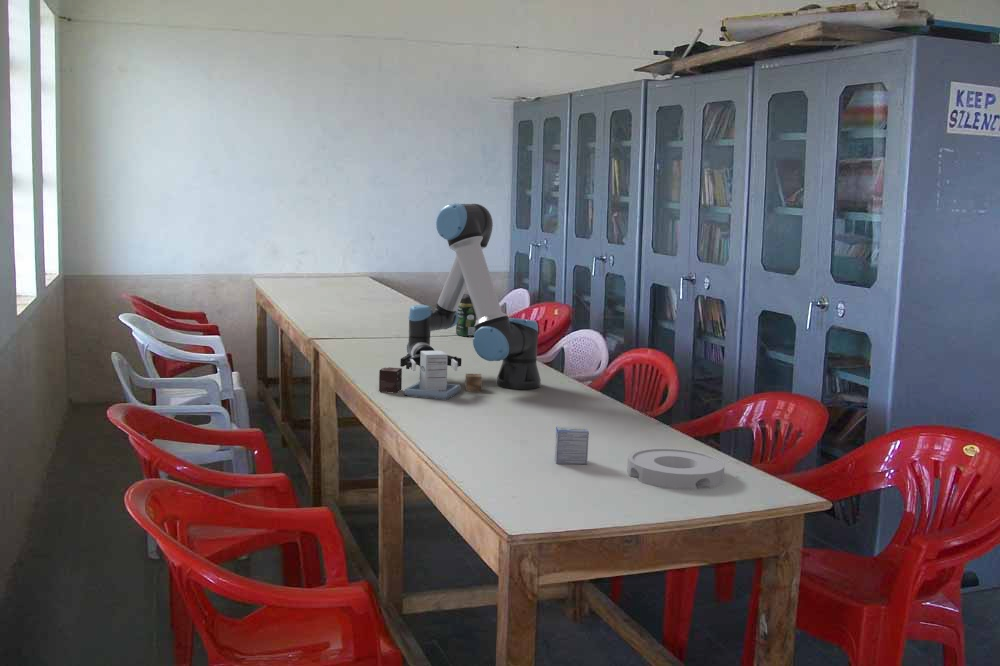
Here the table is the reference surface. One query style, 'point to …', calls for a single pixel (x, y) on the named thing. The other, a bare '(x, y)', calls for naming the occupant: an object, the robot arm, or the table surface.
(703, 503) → the table surface
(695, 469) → the ashtray
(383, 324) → the table surface
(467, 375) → the walnut block
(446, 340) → the table surface
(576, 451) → the medicine box
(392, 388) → the box
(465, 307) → the coffee jar
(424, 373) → the supplement box
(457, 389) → the tray
